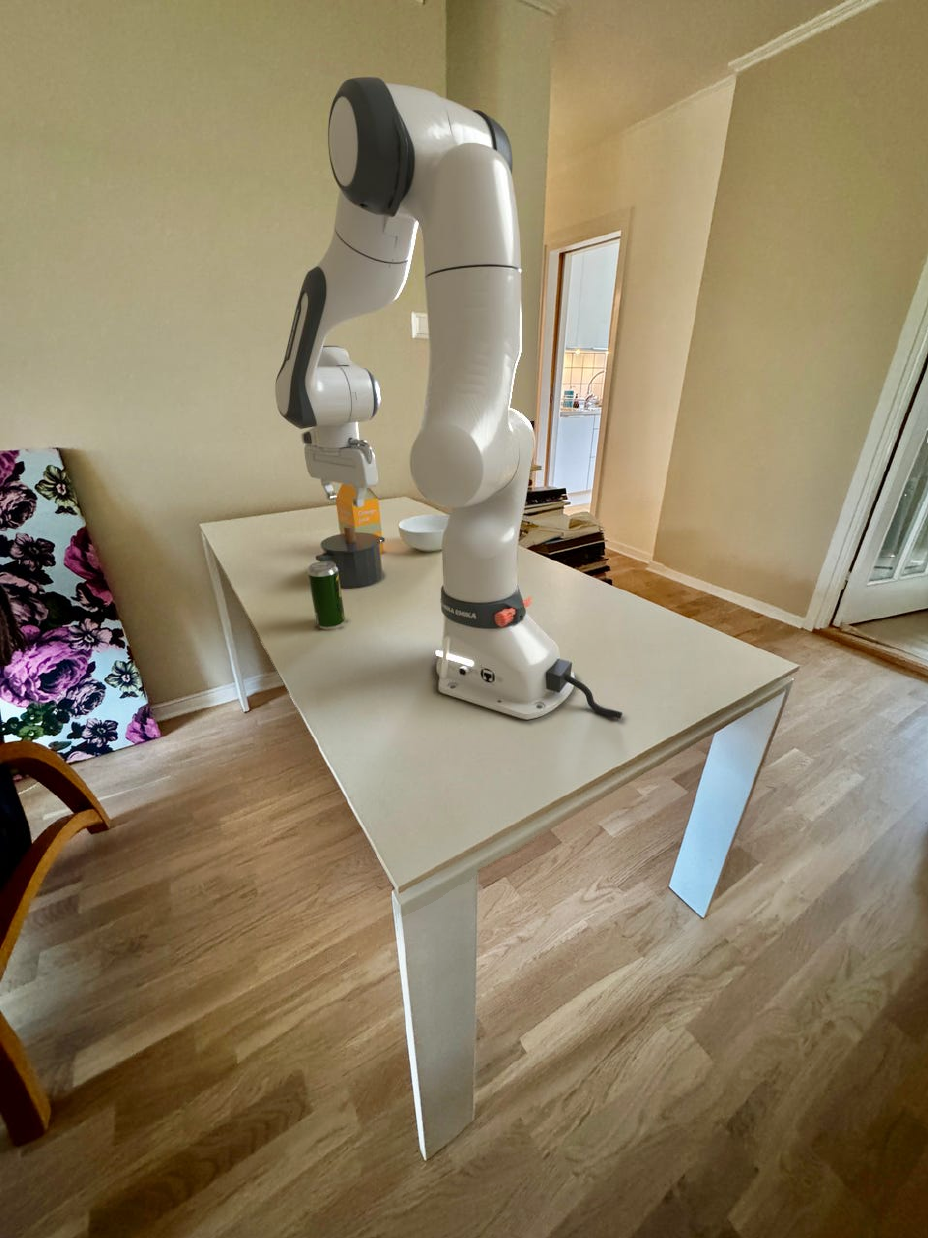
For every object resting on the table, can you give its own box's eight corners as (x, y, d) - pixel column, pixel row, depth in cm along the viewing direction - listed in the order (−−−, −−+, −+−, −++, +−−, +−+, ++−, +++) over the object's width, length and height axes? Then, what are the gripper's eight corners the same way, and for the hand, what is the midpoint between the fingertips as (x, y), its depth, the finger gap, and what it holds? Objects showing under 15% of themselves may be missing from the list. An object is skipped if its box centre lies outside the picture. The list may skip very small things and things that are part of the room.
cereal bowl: (427, 534, 143) (425, 510, 140) (472, 544, 135) (472, 519, 131) (387, 550, 131) (385, 524, 128) (434, 562, 122) (433, 535, 119)
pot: (401, 572, 116) (398, 538, 113) (341, 597, 104) (335, 560, 100) (367, 561, 124) (364, 529, 120) (307, 583, 111) (301, 548, 108)
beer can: (322, 633, 90) (312, 573, 84) (313, 622, 94) (303, 564, 88) (349, 625, 92) (341, 567, 87) (339, 615, 96) (331, 558, 91)
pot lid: (393, 543, 111) (391, 524, 109) (346, 560, 102) (343, 539, 100) (356, 533, 119) (353, 514, 117) (308, 547, 110) (305, 528, 108)
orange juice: (358, 559, 125) (349, 481, 116) (342, 551, 131) (331, 476, 122) (384, 552, 130) (376, 476, 120) (367, 544, 135) (358, 472, 126)
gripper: (382, 438, 96) (387, 507, 102) (320, 431, 107) (329, 493, 114) (357, 442, 91) (364, 513, 98) (296, 434, 103) (306, 498, 109)
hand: (345, 502), depth 106 cm, fingers open, 8 cm apart
